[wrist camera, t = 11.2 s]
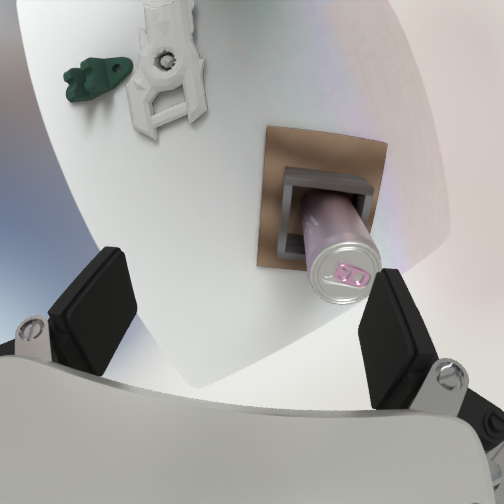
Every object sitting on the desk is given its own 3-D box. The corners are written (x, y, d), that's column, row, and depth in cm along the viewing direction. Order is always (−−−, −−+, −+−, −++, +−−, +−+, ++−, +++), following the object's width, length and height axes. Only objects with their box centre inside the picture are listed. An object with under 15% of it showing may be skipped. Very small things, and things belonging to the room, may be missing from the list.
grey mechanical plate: (111, 12, 22) (191, -14, 21) (124, 16, 25) (198, -6, 24) (132, 146, 32) (211, 131, 30) (144, 140, 35) (217, 127, 33)
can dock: (267, 125, 32) (263, 130, 26) (384, 142, 31) (403, 151, 25) (257, 261, 40) (252, 288, 35) (357, 271, 39) (366, 298, 34)
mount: (130, 49, 28) (109, 44, 23) (136, 78, 30) (116, 77, 25) (68, 82, 30) (45, 84, 26) (74, 109, 32) (51, 113, 28)
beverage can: (337, 235, 36) (361, 314, 23) (293, 219, 36) (295, 294, 23) (357, 193, 33) (398, 255, 20) (311, 174, 33) (327, 228, 20)
